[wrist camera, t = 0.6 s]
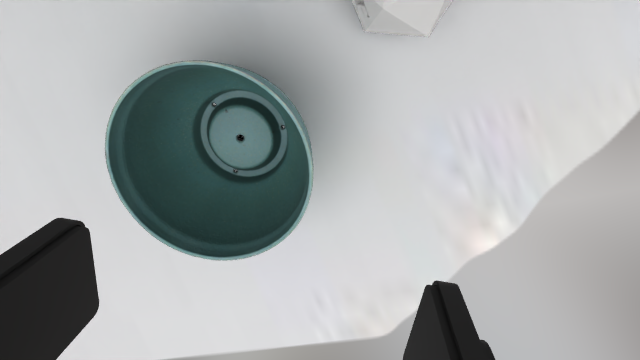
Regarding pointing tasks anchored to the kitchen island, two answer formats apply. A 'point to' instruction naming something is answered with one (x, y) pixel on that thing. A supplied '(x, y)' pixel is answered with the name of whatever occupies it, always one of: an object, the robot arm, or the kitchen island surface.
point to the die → (400, 16)
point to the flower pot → (210, 159)
